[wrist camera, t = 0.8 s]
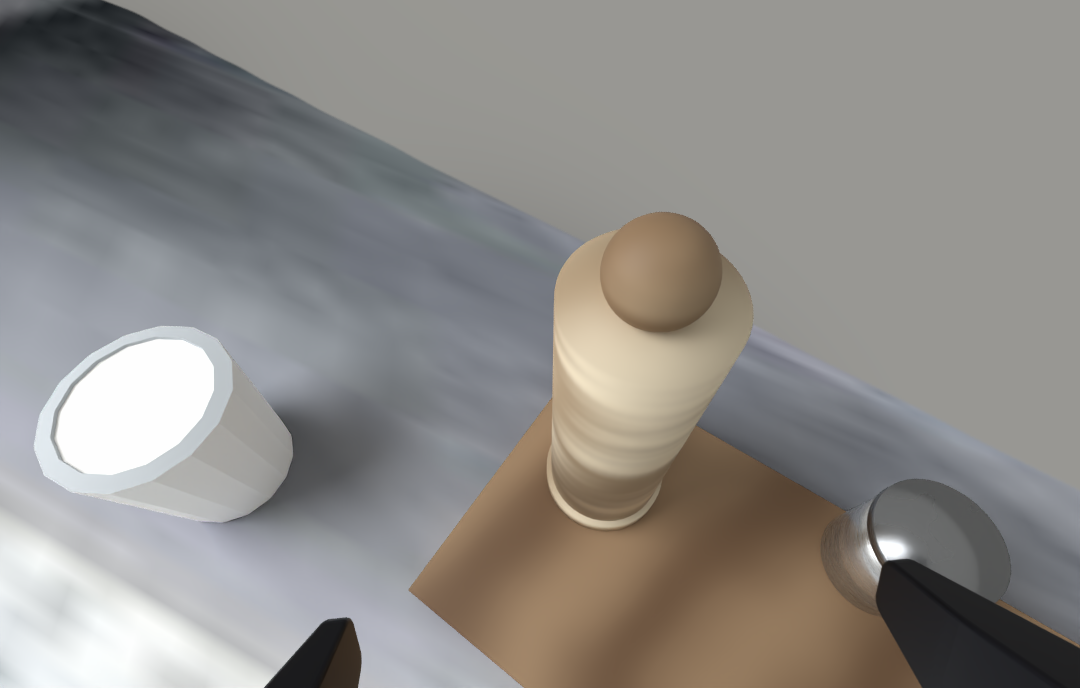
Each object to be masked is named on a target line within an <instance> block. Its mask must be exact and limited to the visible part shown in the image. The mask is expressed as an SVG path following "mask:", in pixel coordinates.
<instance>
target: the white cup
mask: <svg viewBox="0 0 1080 688" xmlns="http://www.w3.org/2000/svg"><path fill="white" fill-rule="evenodd" d="M34 450H35V453H36V455H37V458H38V461H39V463H40V466H41V469H42V471H43V474H44V476H46V477H48V478H49V479H51V480H52V481H54V482H56V483H57V484H59V485H60V486H62V487H64V488H65V489H67V490H68V491H70V492H73V493H77V494H81V495H86V496H90V497H95V498H99V499H103V500H108V501H112V502H116V503H121V504H125V505H130V506H134V507H138V508H143V509H147V510H152V511H156V512H160V513H165V514H169V515H173V516H178V517H182V518H187V519H191V520H195V521H200V522H218V523H224V522H227V521H230V520H233V519H236V518H239V517H242V516H245V515H248V514H250V513H251V512H253V511H254V510H255V509H257V508H258V507H259V506H261V505H262V504H264V503H265V502H266V501H268V500H269V499H270V498H271V497H272V496H273V494H274V493H275V492H276V490H277V489H278V488H279V486H280V485H281V484H282V482H283V481H284V480H285V478H286V477H287V474H288V471H289V467H290V464H291V461H292V458H293V445H292V435H291V434H290V432H289V431H288V429H287V428H286V426H285V425H284V423H283V422H282V420H281V419H280V418H279V416H278V415H277V414H276V413H275V411H274V410H273V409H272V408H271V406H270V405H269V404H268V403H267V401H266V400H265V399H264V397H263V396H262V395H261V394H260V392H259V391H258V390H257V389H256V387H255V386H254V385H253V383H252V382H251V381H250V380H249V378H248V377H247V376H246V375H245V373H244V372H243V371H242V369H241V368H240V367H239V366H238V364H237V363H236V362H235V361H234V359H233V358H232V357H231V355H230V354H229V353H228V352H227V350H226V349H225V348H224V347H223V345H222V344H221V343H220V341H219V340H218V339H217V338H214V337H212V336H210V335H208V334H206V333H204V332H202V331H200V330H198V329H196V328H193V327H176V326H158V327H154V328H151V329H147V330H143V331H139V332H136V333H132V334H128V335H125V336H123V337H121V338H119V339H117V340H116V341H114V342H112V343H110V344H108V345H106V346H105V347H103V348H101V349H99V350H97V351H96V352H94V353H92V354H90V355H89V356H88V357H87V358H86V359H85V360H83V361H82V362H81V363H80V364H79V365H78V366H77V367H76V368H75V369H74V370H73V371H71V372H70V373H69V374H68V375H67V376H66V377H65V378H64V379H63V380H62V381H60V383H59V384H58V386H57V387H56V389H55V391H54V392H53V394H52V396H51V397H50V399H49V400H48V402H47V404H46V405H45V407H44V408H43V410H42V412H41V413H40V415H39V421H38V426H37V431H36V437H35V442H34Z"/></svg>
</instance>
